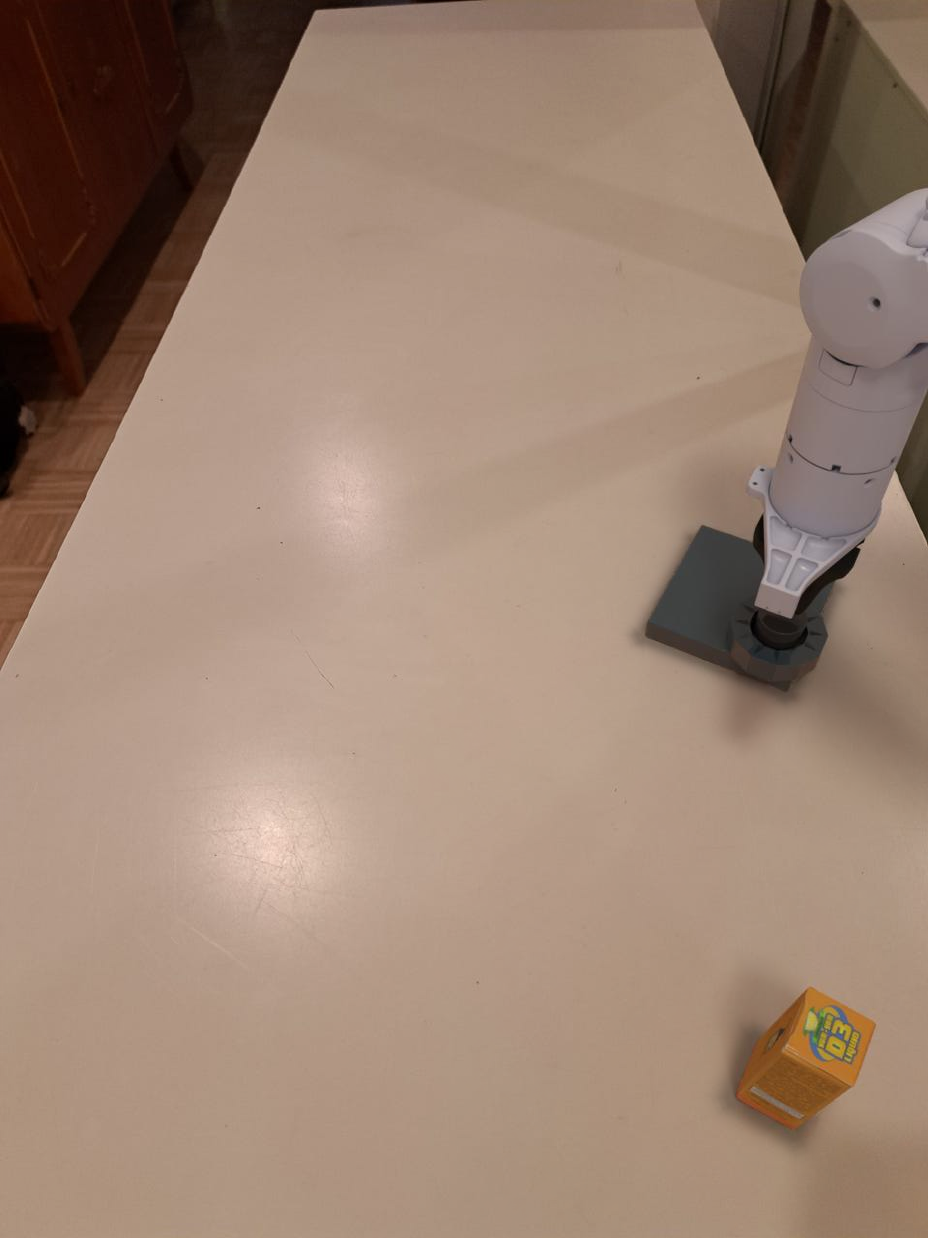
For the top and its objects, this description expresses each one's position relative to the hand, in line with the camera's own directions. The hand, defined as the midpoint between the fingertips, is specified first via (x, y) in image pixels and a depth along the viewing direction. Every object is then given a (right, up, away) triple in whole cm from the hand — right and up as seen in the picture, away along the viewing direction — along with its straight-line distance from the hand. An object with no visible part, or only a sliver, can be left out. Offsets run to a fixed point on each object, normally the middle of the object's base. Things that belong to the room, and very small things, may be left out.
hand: (787, 602), depth 59 cm
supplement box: (-4, -25, -11) cm, 27 cm away
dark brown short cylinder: (0, -2, +2) cm, 3 cm away
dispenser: (-1, -1, +7) cm, 7 cm away
